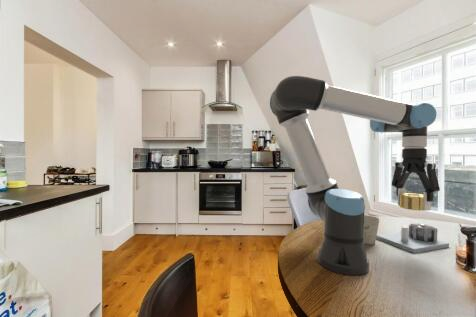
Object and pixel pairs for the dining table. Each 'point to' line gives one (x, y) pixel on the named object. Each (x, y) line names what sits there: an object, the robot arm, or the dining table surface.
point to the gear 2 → (423, 232)
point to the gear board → (410, 241)
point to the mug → (370, 229)
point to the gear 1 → (411, 201)
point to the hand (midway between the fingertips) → (413, 207)
